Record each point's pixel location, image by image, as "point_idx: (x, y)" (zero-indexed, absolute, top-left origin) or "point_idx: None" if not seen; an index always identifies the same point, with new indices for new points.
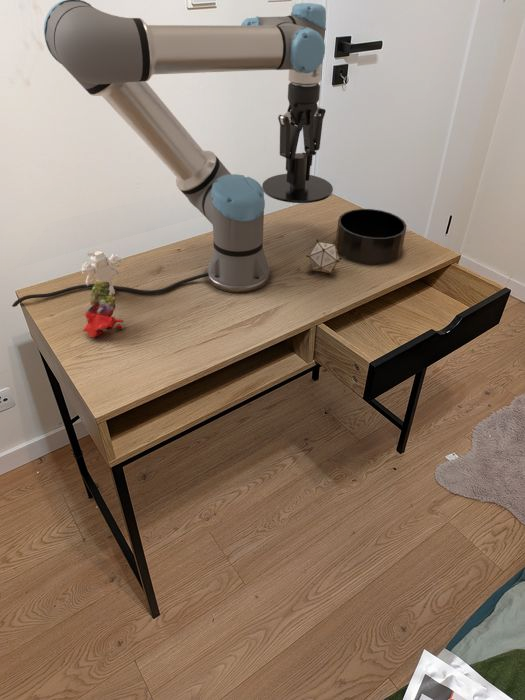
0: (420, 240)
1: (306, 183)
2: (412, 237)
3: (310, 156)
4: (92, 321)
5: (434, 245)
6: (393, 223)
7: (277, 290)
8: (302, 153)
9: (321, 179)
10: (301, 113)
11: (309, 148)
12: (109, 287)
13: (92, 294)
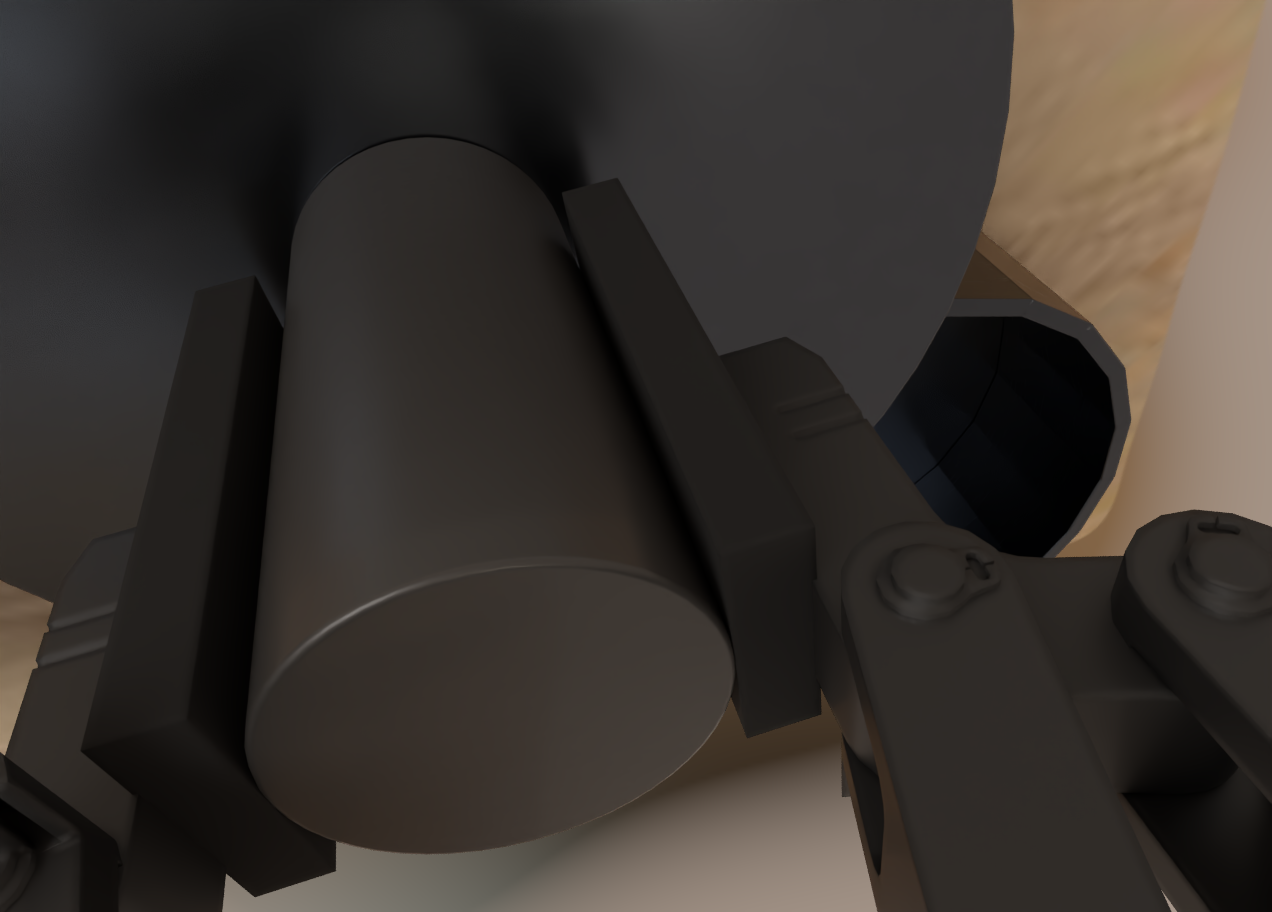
0: (1129, 388)
1: (645, 199)
2: (1133, 347)
3: (792, 697)
4: None
5: (1126, 448)
6: (1067, 433)
7: (25, 659)
8: (719, 566)
9: (966, 127)
10: None
11: (871, 865)
12: None
13: None
